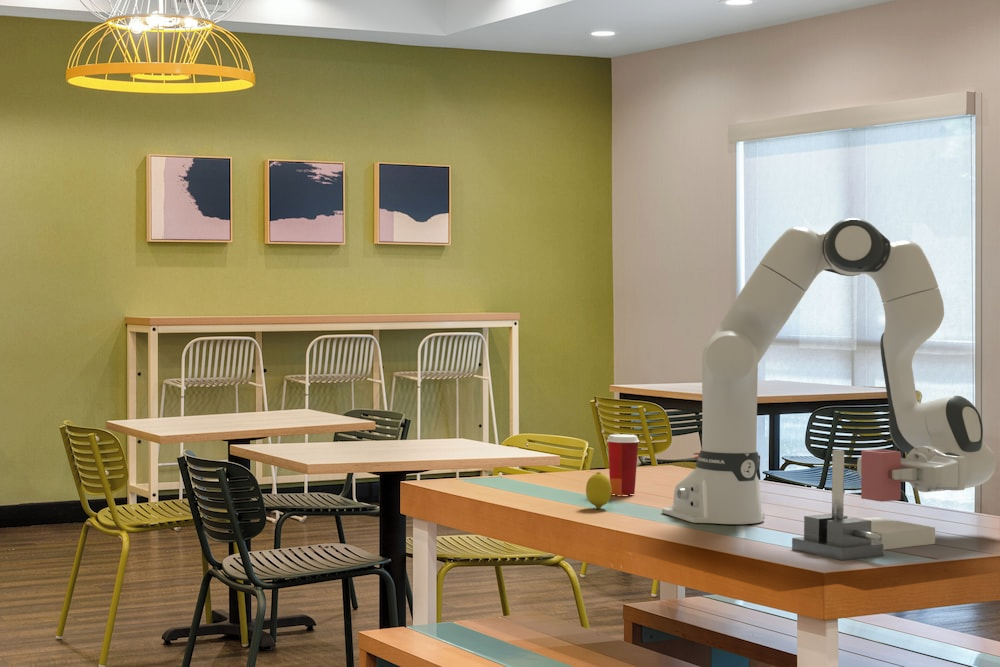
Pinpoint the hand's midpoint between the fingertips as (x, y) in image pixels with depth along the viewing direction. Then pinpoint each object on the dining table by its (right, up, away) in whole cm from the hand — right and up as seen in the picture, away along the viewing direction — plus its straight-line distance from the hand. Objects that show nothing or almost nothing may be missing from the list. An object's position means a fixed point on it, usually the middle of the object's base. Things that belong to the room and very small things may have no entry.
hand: (877, 472), depth 230 cm
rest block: (0, -13, +1) cm, 13 cm away
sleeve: (+1, -5, 0) cm, 5 cm away
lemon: (-49, -12, +38) cm, 63 cm away
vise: (-10, -13, -13) cm, 21 cm away
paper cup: (-42, -12, +60) cm, 74 cm away
